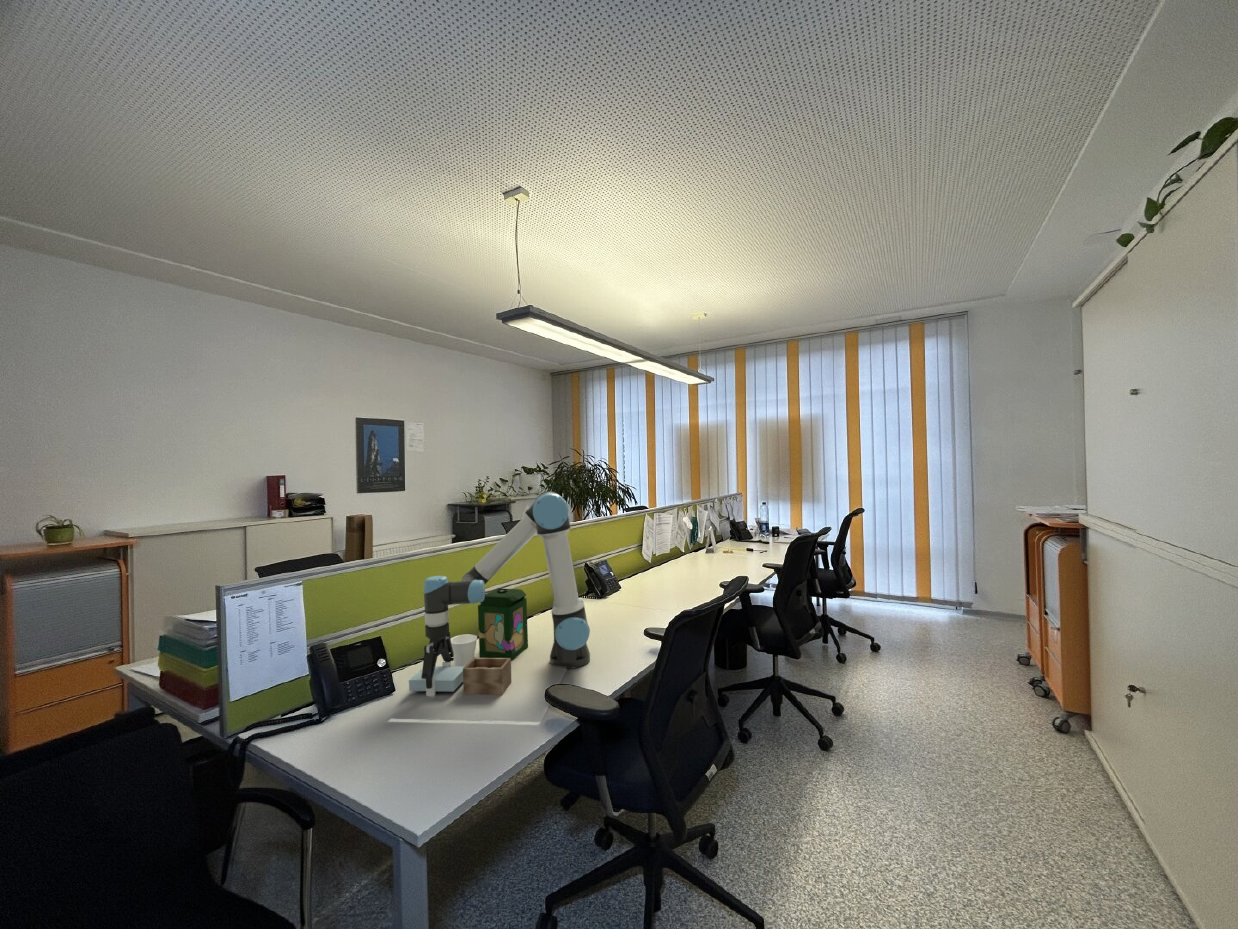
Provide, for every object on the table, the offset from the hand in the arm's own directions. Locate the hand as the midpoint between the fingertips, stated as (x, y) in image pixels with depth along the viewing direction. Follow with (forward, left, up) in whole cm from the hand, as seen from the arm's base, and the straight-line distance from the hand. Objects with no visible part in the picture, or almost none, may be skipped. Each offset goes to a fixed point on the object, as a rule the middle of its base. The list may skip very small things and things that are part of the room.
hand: (439, 688), depth 165 cm
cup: (-1, -17, -1) cm, 17 cm away
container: (-11, -33, -1) cm, 35 cm away
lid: (0, 0, +2) cm, 2 cm away
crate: (-17, 0, 0) cm, 17 cm away
